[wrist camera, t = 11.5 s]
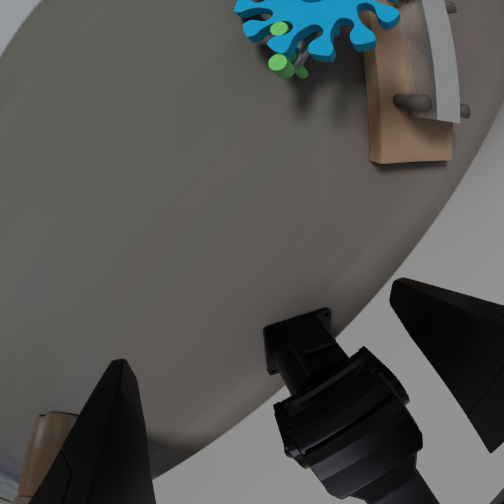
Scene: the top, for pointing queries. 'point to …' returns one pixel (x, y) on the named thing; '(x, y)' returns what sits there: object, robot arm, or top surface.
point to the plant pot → (42, 451)
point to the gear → (311, 29)
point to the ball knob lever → (430, 57)
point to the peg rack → (400, 103)
